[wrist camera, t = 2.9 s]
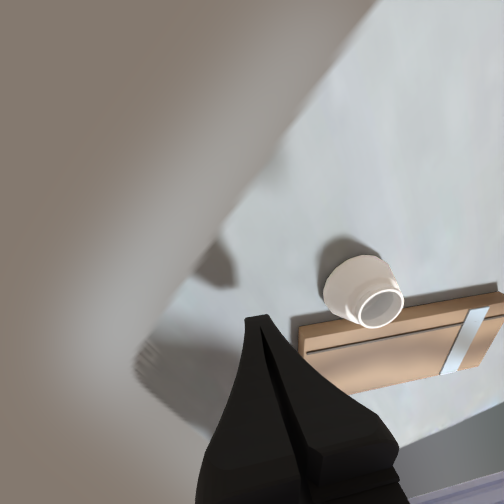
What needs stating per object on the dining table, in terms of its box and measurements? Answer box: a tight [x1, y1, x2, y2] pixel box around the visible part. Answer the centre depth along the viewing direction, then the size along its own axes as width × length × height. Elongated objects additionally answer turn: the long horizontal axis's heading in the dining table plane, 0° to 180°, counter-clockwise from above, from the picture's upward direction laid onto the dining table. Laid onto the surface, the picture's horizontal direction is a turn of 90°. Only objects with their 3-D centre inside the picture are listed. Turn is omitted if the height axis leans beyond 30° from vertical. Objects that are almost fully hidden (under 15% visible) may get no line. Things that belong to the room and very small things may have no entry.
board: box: [298, 291, 504, 395], centre depth 18 cm, size 8×18×1 cm, turn 94°
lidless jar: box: [323, 255, 404, 329], centre depth 14 cm, size 5×3×5 cm
